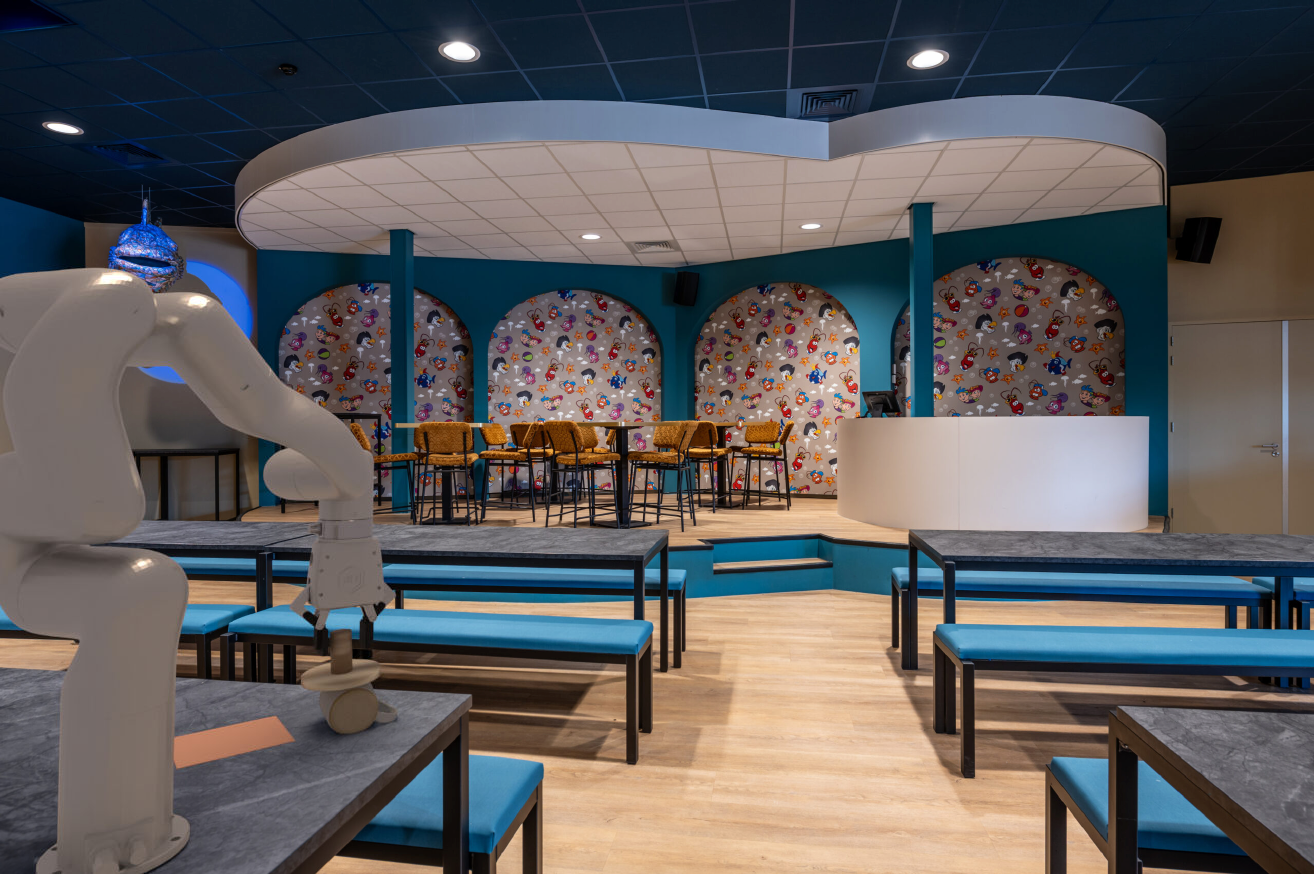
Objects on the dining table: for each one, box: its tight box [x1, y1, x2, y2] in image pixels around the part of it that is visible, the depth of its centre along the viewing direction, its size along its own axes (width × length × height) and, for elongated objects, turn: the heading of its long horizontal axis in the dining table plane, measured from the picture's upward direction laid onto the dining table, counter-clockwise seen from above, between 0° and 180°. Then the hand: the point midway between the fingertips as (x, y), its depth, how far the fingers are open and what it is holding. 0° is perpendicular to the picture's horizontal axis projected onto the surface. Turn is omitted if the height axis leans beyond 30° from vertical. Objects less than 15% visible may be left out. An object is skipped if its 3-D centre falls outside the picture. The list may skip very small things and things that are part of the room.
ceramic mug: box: [318, 682, 398, 735], centre depth 107 cm, size 11×8×8 cm
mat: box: [174, 715, 296, 770], centre depth 100 cm, size 12×14×1 cm
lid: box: [300, 628, 382, 692], centre depth 106 cm, size 11×11×7 cm
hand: (343, 649), depth 106 cm, fingers open, 5 cm apart
